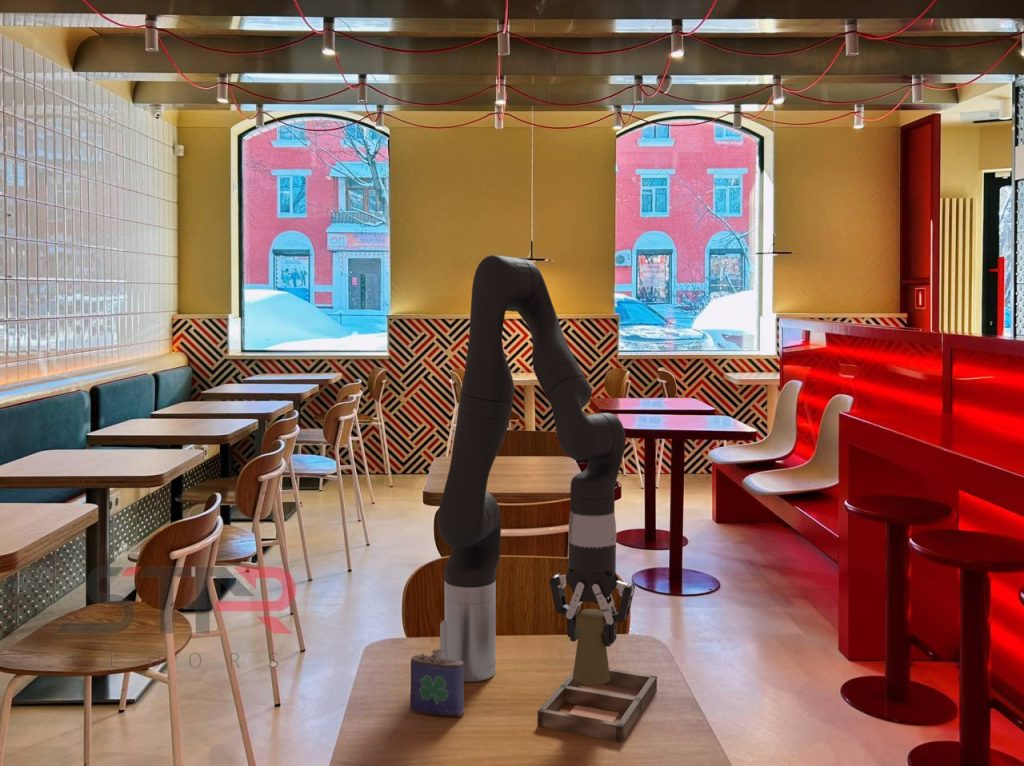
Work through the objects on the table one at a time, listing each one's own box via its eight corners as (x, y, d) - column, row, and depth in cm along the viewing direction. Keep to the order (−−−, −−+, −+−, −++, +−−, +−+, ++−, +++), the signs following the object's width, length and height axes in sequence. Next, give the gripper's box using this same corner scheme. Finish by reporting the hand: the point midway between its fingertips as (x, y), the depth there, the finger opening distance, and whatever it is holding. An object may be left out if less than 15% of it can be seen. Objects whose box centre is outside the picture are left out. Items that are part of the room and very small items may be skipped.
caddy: (537, 725, 153) (537, 710, 153) (580, 677, 172) (580, 663, 172) (622, 742, 148) (622, 726, 147) (656, 690, 167) (656, 676, 167)
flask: (466, 712, 158) (465, 649, 157) (460, 720, 155) (459, 656, 154) (413, 705, 160) (412, 643, 159) (407, 713, 158) (406, 650, 157)
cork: (608, 686, 151) (608, 618, 150) (570, 683, 152) (570, 616, 151) (612, 671, 157) (612, 606, 156) (575, 668, 158) (575, 604, 157)
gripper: (541, 540, 152) (541, 644, 154) (629, 549, 146) (628, 657, 148) (557, 529, 159) (557, 628, 160) (642, 537, 153) (641, 640, 155)
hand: (591, 641), depth 154 cm, fingers closed on cork, 5 cm apart
